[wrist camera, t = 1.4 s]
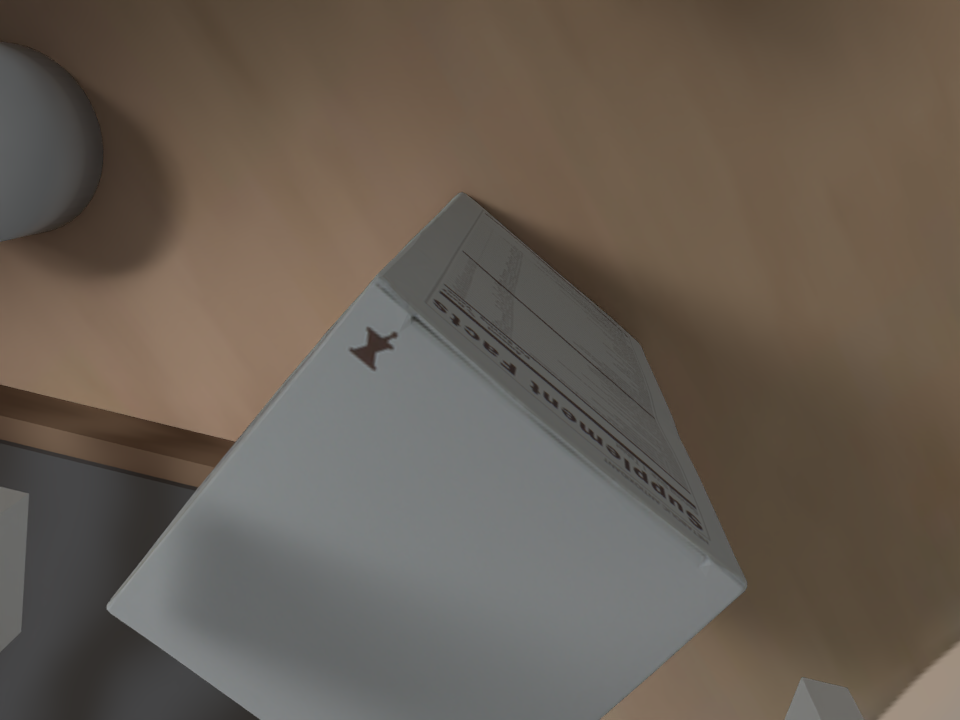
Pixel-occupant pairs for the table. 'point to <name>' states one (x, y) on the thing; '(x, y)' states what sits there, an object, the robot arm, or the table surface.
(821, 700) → the robot arm
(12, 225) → the grey rounded block
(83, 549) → the picture frame
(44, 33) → the table surface
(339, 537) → the supplement box
